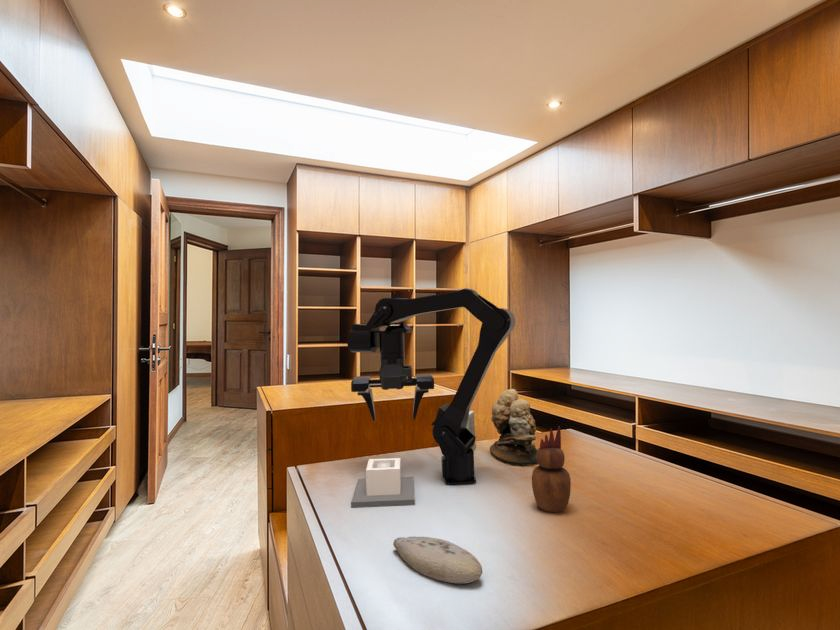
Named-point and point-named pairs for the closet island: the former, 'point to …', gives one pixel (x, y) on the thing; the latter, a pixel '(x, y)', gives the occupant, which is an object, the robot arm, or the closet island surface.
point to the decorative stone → (439, 559)
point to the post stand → (384, 500)
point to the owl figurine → (513, 430)
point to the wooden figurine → (551, 475)
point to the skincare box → (471, 425)
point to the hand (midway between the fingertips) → (394, 420)
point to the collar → (383, 477)
